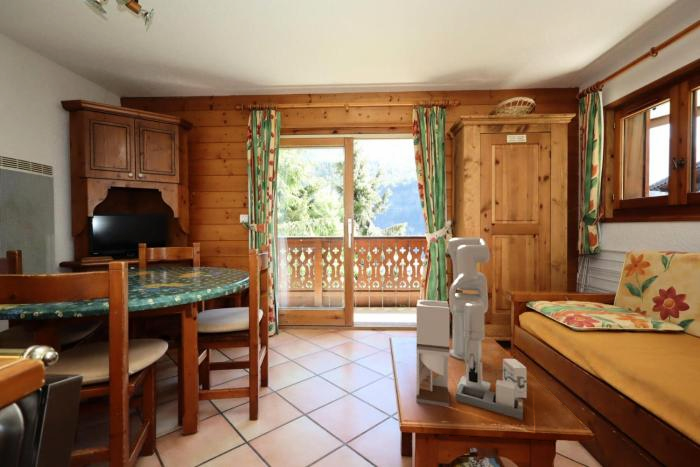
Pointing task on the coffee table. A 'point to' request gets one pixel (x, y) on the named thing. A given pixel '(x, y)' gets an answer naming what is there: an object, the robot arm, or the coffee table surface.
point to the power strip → (488, 401)
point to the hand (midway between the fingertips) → (474, 378)
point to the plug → (479, 370)
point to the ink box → (516, 376)
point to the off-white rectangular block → (505, 393)
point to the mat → (484, 384)
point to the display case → (432, 352)
